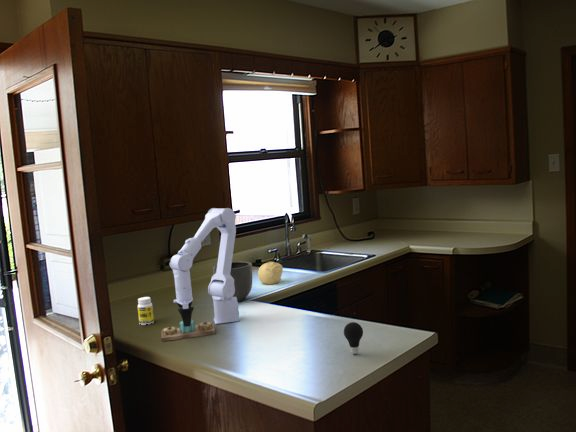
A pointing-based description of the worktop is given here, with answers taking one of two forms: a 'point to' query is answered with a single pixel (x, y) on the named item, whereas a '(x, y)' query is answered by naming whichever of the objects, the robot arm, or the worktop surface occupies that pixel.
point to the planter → (240, 279)
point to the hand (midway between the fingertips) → (187, 323)
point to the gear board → (200, 330)
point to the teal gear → (188, 328)
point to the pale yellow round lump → (270, 273)
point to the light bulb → (353, 336)
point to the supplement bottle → (145, 311)
